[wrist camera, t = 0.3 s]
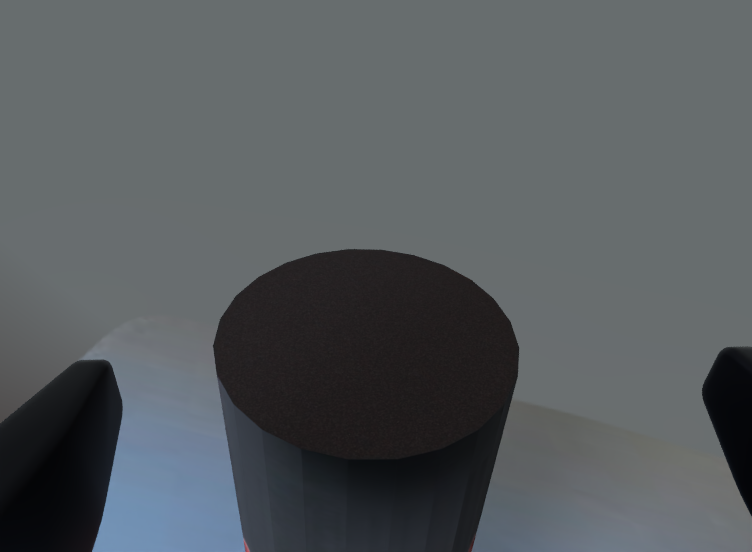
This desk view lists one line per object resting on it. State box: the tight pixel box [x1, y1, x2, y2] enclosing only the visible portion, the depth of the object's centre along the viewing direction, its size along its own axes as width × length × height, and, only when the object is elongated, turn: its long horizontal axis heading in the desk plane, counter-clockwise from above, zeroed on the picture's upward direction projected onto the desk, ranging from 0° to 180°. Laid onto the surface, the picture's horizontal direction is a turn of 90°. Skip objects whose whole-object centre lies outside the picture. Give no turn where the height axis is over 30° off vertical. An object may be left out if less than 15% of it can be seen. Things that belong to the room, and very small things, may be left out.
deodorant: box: [213, 249, 519, 552], centre depth 16 cm, size 6×6×15 cm
